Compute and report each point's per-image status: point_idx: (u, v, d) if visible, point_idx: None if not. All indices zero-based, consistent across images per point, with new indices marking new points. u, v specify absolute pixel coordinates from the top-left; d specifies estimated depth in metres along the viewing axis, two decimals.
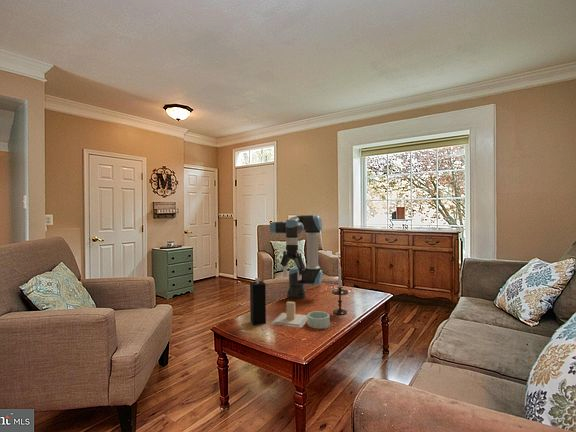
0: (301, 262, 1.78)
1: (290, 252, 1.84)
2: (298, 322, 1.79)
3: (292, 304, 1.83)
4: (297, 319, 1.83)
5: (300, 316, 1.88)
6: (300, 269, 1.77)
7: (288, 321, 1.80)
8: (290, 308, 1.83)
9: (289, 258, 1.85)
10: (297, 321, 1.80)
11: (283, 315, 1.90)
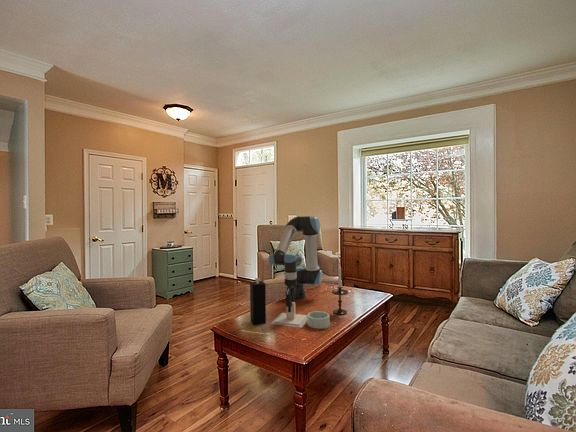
0: (287, 301, 1.80)
1: None
2: (298, 322, 1.79)
3: (292, 304, 1.83)
4: (297, 319, 1.83)
5: (300, 316, 1.88)
6: (288, 306, 1.82)
7: (288, 321, 1.80)
8: None
9: None
10: (297, 321, 1.80)
11: (283, 315, 1.90)
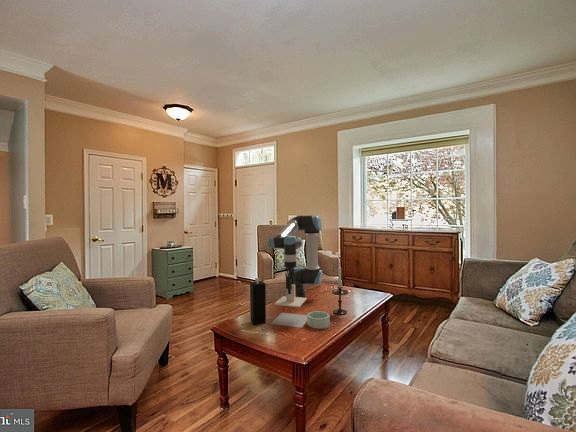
0: (287, 283, 1.79)
1: None
2: (298, 303, 1.79)
3: (292, 286, 1.83)
4: (297, 301, 1.83)
5: (300, 299, 1.88)
6: (287, 288, 1.82)
7: (288, 303, 1.80)
8: None
9: None
10: (297, 303, 1.80)
11: (283, 298, 1.90)
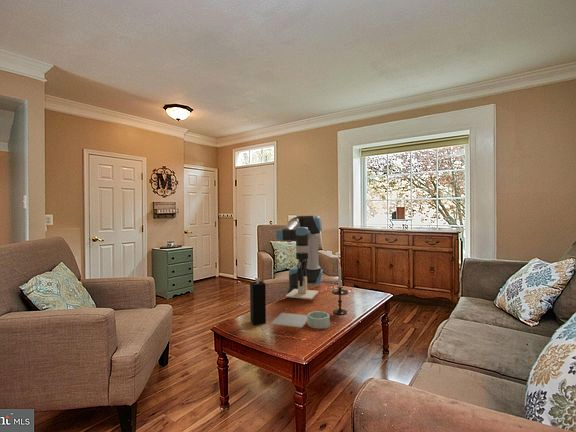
0: (299, 274, 1.76)
1: None
2: (310, 296, 1.74)
3: (304, 278, 1.79)
4: (309, 294, 1.79)
5: (312, 291, 1.84)
6: (299, 280, 1.78)
7: (300, 295, 1.76)
8: None
9: None
10: (309, 295, 1.75)
11: (294, 290, 1.86)
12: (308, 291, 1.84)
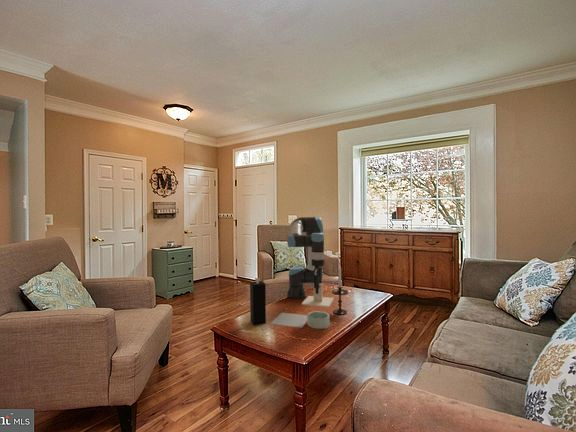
0: (315, 282, 1.71)
1: None
2: (327, 303, 1.70)
3: (320, 285, 1.75)
4: (325, 301, 1.75)
5: (327, 299, 1.80)
6: (315, 288, 1.74)
7: (316, 303, 1.72)
8: None
9: None
10: (325, 303, 1.71)
11: (309, 298, 1.82)
12: (323, 298, 1.80)
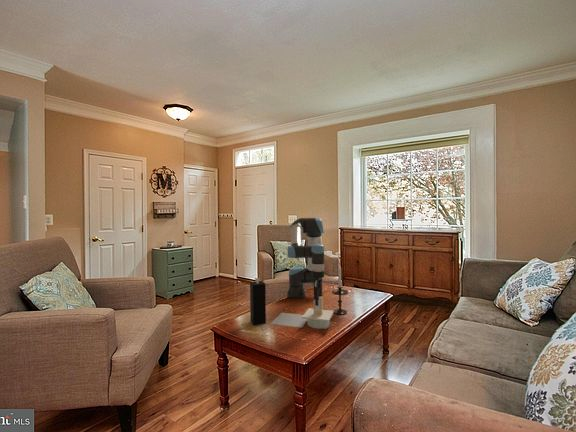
0: (315, 293, 1.71)
1: None
2: (327, 317, 1.71)
3: (320, 299, 1.75)
4: (325, 314, 1.75)
5: (327, 311, 1.80)
6: (315, 299, 1.73)
7: (316, 316, 1.72)
8: None
9: None
10: (325, 316, 1.72)
11: (309, 310, 1.82)
12: (323, 311, 1.81)
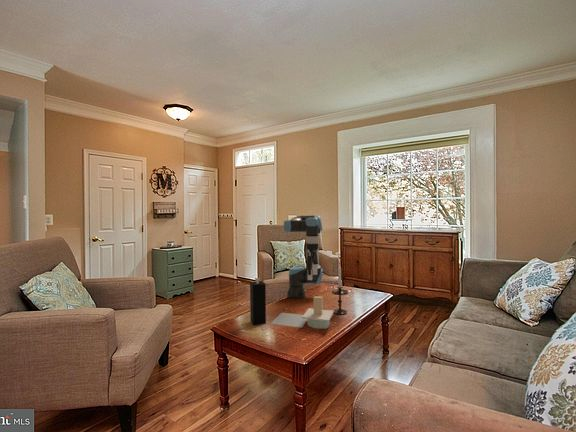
0: (308, 262, 1.73)
1: None
2: (327, 317, 1.71)
3: (320, 299, 1.75)
4: (325, 314, 1.75)
5: (327, 311, 1.80)
6: (308, 269, 1.74)
7: (316, 316, 1.72)
8: (317, 303, 1.76)
9: None
10: (325, 316, 1.72)
11: (309, 310, 1.82)
12: (323, 311, 1.81)
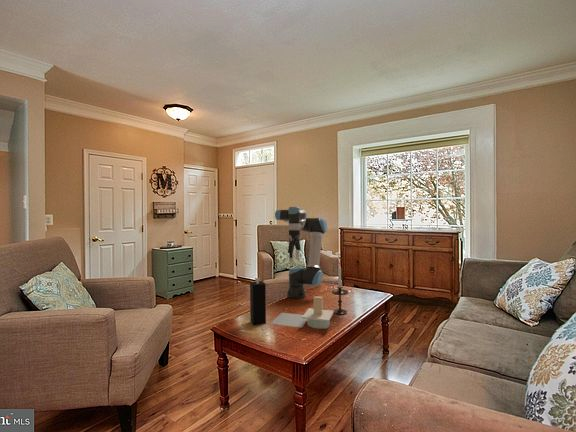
0: (290, 246, 1.91)
1: None
2: (327, 317, 1.71)
3: (320, 299, 1.75)
4: (325, 314, 1.75)
5: (327, 311, 1.80)
6: (289, 252, 1.91)
7: (316, 316, 1.72)
8: (317, 303, 1.76)
9: None
10: (325, 316, 1.72)
11: (309, 310, 1.82)
12: (323, 311, 1.81)
